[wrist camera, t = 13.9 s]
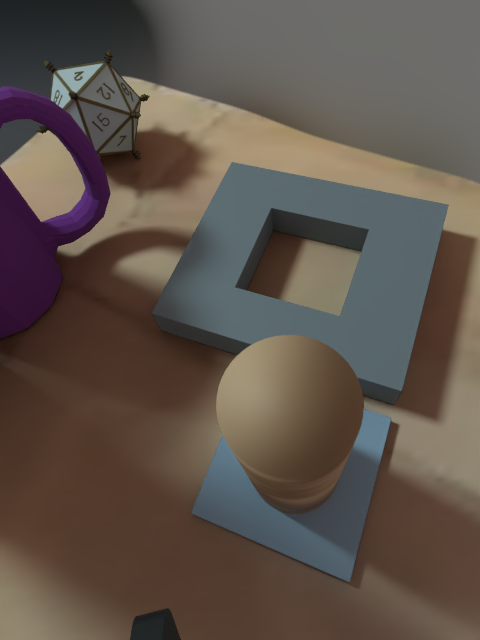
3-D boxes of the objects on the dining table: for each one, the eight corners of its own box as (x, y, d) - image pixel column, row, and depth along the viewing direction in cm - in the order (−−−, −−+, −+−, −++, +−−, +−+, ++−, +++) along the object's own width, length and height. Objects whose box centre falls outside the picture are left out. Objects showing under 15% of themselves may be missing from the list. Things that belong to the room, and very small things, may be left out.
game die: (107, 182, 45) (16, 98, 40) (168, 118, 44) (82, 23, 38) (108, 205, 37) (-4, 105, 32) (182, 129, 36) (78, 11, 31)
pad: (192, 514, 26) (190, 513, 26) (249, 373, 30) (248, 371, 29) (348, 582, 24) (349, 582, 23) (390, 420, 27) (391, 417, 27)
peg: (237, 493, 26) (192, 444, 15) (267, 411, 28) (247, 319, 17) (323, 528, 24) (339, 502, 14) (349, 440, 26) (380, 358, 16)
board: (161, 330, 32) (151, 313, 30) (235, 185, 38) (231, 162, 35) (393, 405, 28) (401, 391, 25) (438, 228, 33) (448, 204, 31)
